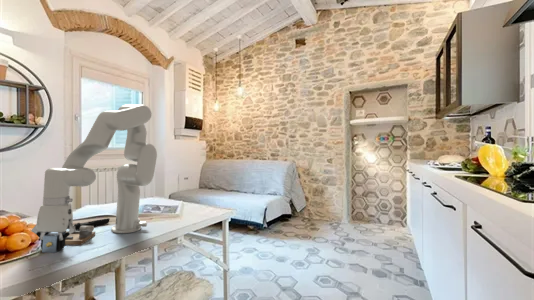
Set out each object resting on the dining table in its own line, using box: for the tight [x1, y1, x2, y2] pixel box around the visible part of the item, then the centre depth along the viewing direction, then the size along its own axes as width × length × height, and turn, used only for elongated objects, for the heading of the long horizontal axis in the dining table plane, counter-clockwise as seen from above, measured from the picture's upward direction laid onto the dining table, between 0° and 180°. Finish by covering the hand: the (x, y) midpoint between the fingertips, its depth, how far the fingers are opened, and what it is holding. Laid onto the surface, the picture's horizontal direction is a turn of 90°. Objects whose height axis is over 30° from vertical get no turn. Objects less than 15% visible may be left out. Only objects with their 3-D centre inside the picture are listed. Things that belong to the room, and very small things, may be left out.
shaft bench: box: [49, 226, 96, 246], centre depth 106 cm, size 16×11×6 cm
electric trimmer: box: [73, 218, 110, 231], centre depth 124 cm, size 4×16×3 cm, turn 146°
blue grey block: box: [41, 232, 59, 254], centre depth 95 cm, size 6×4×6 cm
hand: (52, 248), depth 95 cm, fingers closed on blue grey block, 4 cm apart
